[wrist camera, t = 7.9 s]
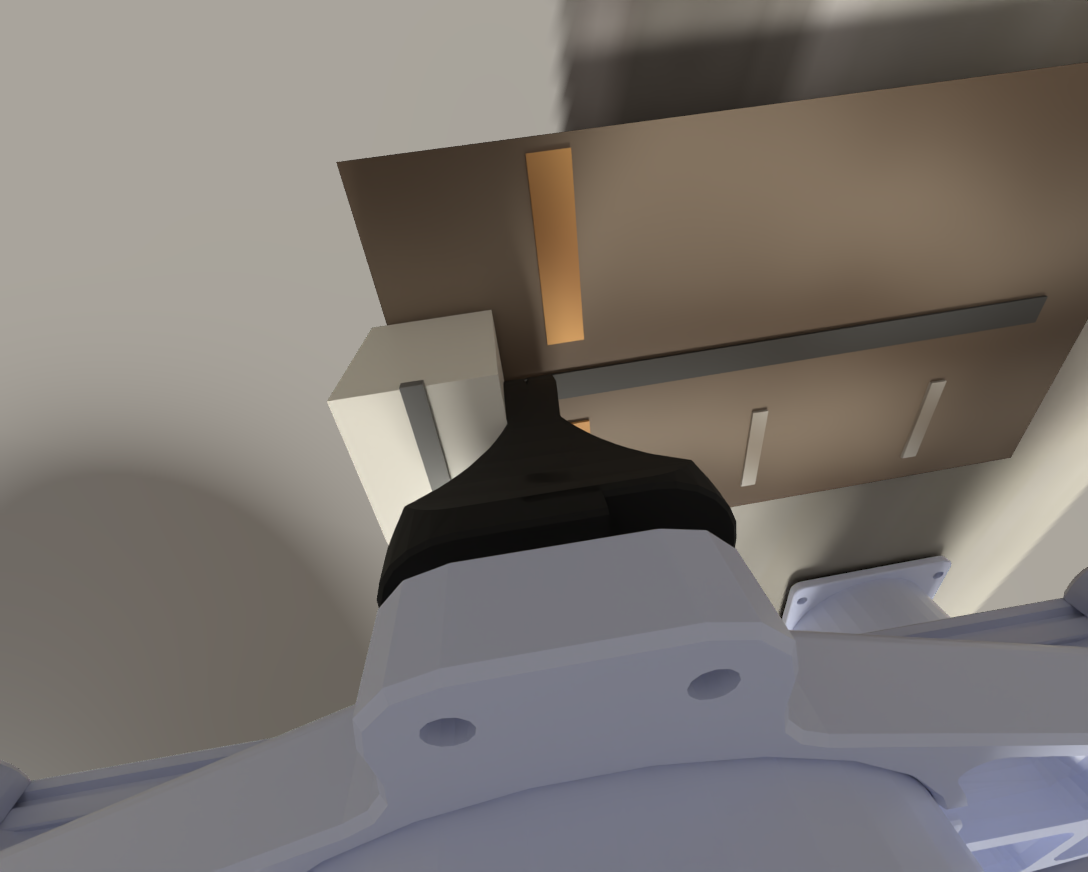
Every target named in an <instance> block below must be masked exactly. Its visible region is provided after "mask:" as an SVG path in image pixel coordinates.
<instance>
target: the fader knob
mask: <svg viewBox="0 0 1088 872" xmlns="http://www.w3.org/2000/svg"><path fill="white" fill-rule="evenodd" d="M503 382H504V377H503V372H502V366H501V360H500V355H499V349H498V343H497V338H496V332H495V327H494V321H493V315H492V310H486V311H479V312H473V313H466V314H460V315H453V316H446V317H440V318H433V319H426V320H420V321H413V322H407V323H400V324H393V325H387V326H380V327H374V328H372V329H371V330H370V332H369V334H368V335H367V337H366V339H365V340H364V342H363V344H362V345H361V347H360V348H359V350H358V352H357V353H356V355H355V357H354V358H353V360H352V361H351V363H350V365H349V366H348V368H347V370H346V371H345V373H344V375H343V376H342V378H341V379H340V381H339V383H338V384H337V386H336V388H335V389H334V391H333V392H332V394H331V396H330V397H329V399H328V401H327V403H328V405H329V407H330V409H331V412H332V414H333V417H334V419H335V421H336V424H337V426H338V428H339V431H340V433H341V435H342V438H343V440H344V442H345V445H346V447H347V449H348V452H349V454H350V456H351V459H352V461H353V464H354V466H355V468H356V471H357V473H358V475H359V478H360V480H361V482H362V484H363V487H364V489H365V492H366V494H367V496H368V498H369V501H370V503H371V506H372V508H373V511H374V513H375V515H376V517H377V520H378V522H379V525H380V527H381V529H382V531H383V534H384V536H385V538H386V541H387V543H388V546H389V543H390V540H391V538H392V535H393V532H394V530H395V527H396V525H397V523H398V521H399V518H400V516H401V513H402V511H403V508H404V507H405V506H406V505H408V504H410V503H412V502H414V501H416V500H417V499H419V498H421V497H423V496H425V495H427V494H428V493H430V492H432V491H434V490H436V489H438V488H439V487H441V486H442V485H444V484H446V483H447V482H449V481H450V480H452V479H453V478H454V477H456V476H457V475H459V474H460V473H461V472H463V471H464V470H465V469H467V468H468V467H469V466H470V465H472V464H473V463H474V462H475V461H476V460H477V459H478V458H479V457H480V456H481V455H482V454H484V453H485V452H486V451H487V450H488V449H489V448H490V447H491V446H492V444H493V443H494V442H495V441H496V439H497V438H498V437H499V435H500V434H501V433H502V431H503V430H504V428H505V427H506V425H507V420H506V411H505V400H504V388H503Z"/></svg>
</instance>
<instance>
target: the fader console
mask: <svg viewBox="0 0 1088 872" xmlns="http://www.w3.org/2000/svg"><path fill="white" fill-rule="evenodd" d="M337 166H338V169H339V172H340V175H341V179H342V182H343V185H344V188H345V191H346V195H347V198H348V201H349V204H350V207H351V211H352V214H353V217H354V220H355V224H356V227H357V230H358V233H359V236H360V240H361V243H362V246H363V249H364V252H365V256H366V259H367V262H368V265H369V269H370V272H371V275H372V278H373V281H374V285H375V288H376V291H377V294H378V297H379V300H380V304H381V307H382V310H383V314H384V317H385V320H386V323H387V325H393V324H400V323H407V322H413V321H420V320H426V319H433V318H440V317H446V316H453V315H460V314H466V313H473V312H479V311H486V310H492V315H493V321H494V327H495V332H496V338H497V343H498V349H499V355H500V360H501V366H502V372H503V377H504V382H506V381H513V380H519V379H523V380H524V381H525V382H526V381H527V379H528V378H533V377H539V376H546V375H553V377H554V378H555V380H556V383H557V391H558V400H559V408H560V415H561V417H563V418H564V419H565V420H567V421H568V422H570V423H571V424H573V425H575V426H577V427H579V428H580V429H582V430H584V431H586V432H588V433H590V434H592V435H594V436H597V437H599V438H602V439H604V440H607V441H609V442H612V443H614V444H617V445H621V446H624V447H627V448H631V449H635V450H639V451H642V452H646V453H651V454H656V455H663V456H669V457H676V458H682V459H689V460H692V461H693V462H694V463H695V464H696V465H697V466H698V467H699V469H700V470H701V471H702V472H703V473H704V474H705V475H706V476H707V477H708V478H709V479H710V481H711V482H712V483H713V484H714V486H715V487H716V488H717V489H718V491H719V492H720V493H721V495H722V496H723V498H724V499H725V501H726V502H727V503H728V505H729V506H730V507H734V506H740V505H746V504H751V503H757V502H763V501H768V500H774V499H779V498H785V497H791V496H796V495H802V494H808V493H813V492H819V491H825V490H830V489H836V488H842V487H847V486H853V485H858V484H864V483H870V482H875V481H881V480H887V479H892V478H898V477H904V476H909V475H915V474H920V473H926V472H932V471H937V470H943V469H949V468H954V467H960V466H966V465H971V464H977V463H983V462H988V461H994V460H999V459H1005V458H1011V456H1012V454H1013V453H1014V451H1015V449H1016V447H1017V445H1018V444H1019V442H1020V440H1021V438H1022V436H1023V435H1024V433H1025V431H1026V429H1027V427H1028V426H1029V424H1030V422H1031V420H1032V418H1033V417H1034V415H1035V413H1036V411H1037V409H1038V408H1039V406H1040V404H1041V402H1042V400H1043V399H1044V397H1045V395H1046V393H1047V391H1048V390H1049V388H1050V386H1051V384H1052V382H1053V381H1054V379H1055V377H1056V375H1057V373H1058V372H1059V370H1060V368H1061V366H1062V364H1063V363H1064V361H1065V359H1066V357H1067V355H1068V354H1069V352H1070V350H1071V348H1072V346H1073V345H1074V343H1075V341H1076V339H1077V337H1078V336H1079V334H1080V332H1081V330H1082V328H1083V327H1084V325H1085V323H1086V321H1087V319H1088V62H1086V63H1078V64H1071V65H1063V66H1056V67H1048V68H1041V69H1033V70H1026V71H1018V72H1011V73H1003V74H996V75H988V76H981V77H973V78H966V79H958V80H951V81H943V82H936V83H928V84H921V85H913V86H906V87H898V88H891V89H883V90H875V91H868V92H860V93H853V94H845V95H838V96H830V97H823V98H815V99H808V100H800V101H793V102H785V103H778V104H770V105H763V106H755V107H748V108H740V109H733V110H725V111H718V112H710V113H703V114H695V115H687V116H680V117H672V118H665V119H657V120H650V121H642V122H635V123H627V124H620V125H612V126H605V127H597V128H590V129H582V130H575V131H567V132H560V133H552V134H545V135H537V136H530V137H522V138H515V139H507V140H500V141H492V142H485V143H478V144H469V145H462V146H455V147H448V148H439V149H432V150H425V151H417V152H409V153H402V154H395V155H387V156H379V157H372V158H364V159H357V160H349V161H342V162H337Z"/></svg>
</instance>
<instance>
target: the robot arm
mask: <svg viewBox="0 0 1088 872" xmlns="http://www.w3.org/2000/svg"><path fill="white" fill-rule="evenodd" d="M503 388H504V400H505V411H506V420H507V425H506V427H505V428H504V430H503V431H502V433H501V434H500V435H499V437H498V438H497V439H496V441H495V442H494V443H493V444H492V446H491V447H490V448H489V449H488V450H487V451H486V452H485V453H484V454H482V455H481V456H480V457H479V458H478V459H477V460H476V461H475V462H474V463H473V464H472V465H470V466H469V467H468V468H467V469H465V470H464V471H463V472H461V473H460V474H459V475H457V476H456V477H454V478H453V479H452V480H450V481H449V482H447V483H446V484H444V485H442V486H441V487H439V488H438V489H436V490H434V491H432V492H430V493H428V494H427V495H425V496H423V497H421V498H419V499H417V500H416V501H414V502H412V503H410V504H408V505H406V506H405V507H404V508H403V511H402V513H401V516H400V518H399V521H398V523H397V525H396V527H395V530H394V532H393V535H392V538H391V540H390V543H389V546H388V550H387V553H386V557H385V561H384V565H383V570H382V574H381V578H380V582H379V589H378V595H377V603H378V606H379V609H378V612H377V616H376V620H375V624H374V629H373V633H372V637H371V641H370V646H369V650H368V654H367V658H366V663H365V667H364V671H363V675H362V680H361V684H360V688H359V692H358V696H357V701H356V704H354V705H351V706H349V707H347V708H344V709H342V710H339V711H337V712H334V713H332V714H330V715H327V716H325V717H323V718H320V719H317V720H315V721H313V722H310V723H308V724H305V725H303V726H301V727H298V728H296V729H293V730H291V731H288V732H286V733H284V734H281V735H279V736H277V737H274V738H269V739H263V740H258V741H252V742H247V743H241V744H235V745H230V746H224V747H219V748H213V749H207V750H201V751H196V752H190V753H184V754H178V755H173V756H167V757H161V758H156V759H151V760H145V761H139V762H133V763H128V764H122V765H116V766H111V767H105V768H100V769H94V770H88V771H83V772H77V773H71V774H66V775H60V776H55V777H49V778H43V779H37V780H32V781H30V779H29V777H28V775H26V774H25V773H24V772H23V771H21V770H20V769H19V768H17V767H16V766H14V765H12V764H10V763H8V762H5V761H3V760H0V872H1088V567H1087V568H1085V569H1083V570H1082V571H1081V572H1080V573H1079V574H1078V575H1077V576H1076V577H1075V578H1074V579H1073V580H1072V581H1071V583H1070V584H1069V586H1068V587H1067V589H1066V590H1065V592H1064V598H1060V599H1054V600H1048V601H1043V602H1037V603H1031V604H1026V605H1020V606H1015V607H1009V608H1003V609H997V610H992V611H987V612H981V613H975V614H969V615H964V616H958V617H952V618H951V617H949V616H948V615H947V614H946V613H945V612H944V611H943V610H942V609H941V608H940V607H939V606H938V605H937V604H936V603H935V602H934V601H933V600H932V599H933V598H934V596H935V594H936V592H937V590H938V589H939V587H940V585H941V583H942V581H943V580H944V578H945V576H946V574H947V572H948V571H949V569H950V567H951V561H950V560H948V559H947V558H946V557H945V556H935V557H929V558H924V559H919V560H913V561H908V562H902V563H897V564H892V565H886V566H881V567H876V568H870V569H865V570H860V571H854V572H849V573H844V574H838V575H833V576H828V577H822V578H817V579H812V580H806V581H801V582H798V583H796V584H794V585H793V586H792V587H791V589H790V592H789V595H788V599H787V602H786V606H785V610H784V613H783V617H782V619H781V617H780V616H779V614H778V613H777V611H776V610H775V608H774V607H773V605H772V603H771V602H770V600H769V599H768V597H767V596H766V594H765V593H764V591H763V590H762V588H761V586H760V585H759V583H758V582H757V580H756V579H755V577H754V576H753V574H752V573H751V571H750V570H749V568H748V566H747V565H746V563H745V562H744V560H743V559H742V557H741V556H740V554H739V553H738V551H737V549H735V543H736V520H735V518H734V515H733V513H732V511H731V508H730V506H729V505H728V503H727V502H726V501H725V499H724V498H723V496H722V495H721V493H720V492H719V491H718V489H717V488H716V487H715V486H714V484H713V483H712V482H711V481H710V479H709V478H708V477H707V476H706V475H705V474H704V473H703V472H702V471H701V470H700V469H699V467H698V466H697V465H696V464H695V463H694V462H693V461H692V460H689V459H682V458H676V457H669V456H663V455H656V454H651V453H646V452H642V451H639V450H635V449H631V448H627V447H624V446H621V445H617V444H614V443H612V442H609V441H607V440H604V439H602V438H599V437H597V436H594V435H592V434H590V433H588V432H586V431H584V430H582V429H580V428H579V427H577V426H575V425H573V424H571V423H570V422H568V421H567V420H565V419H564V418H563V417H561V415H560V408H559V400H558V391H557V383H556V380H555V378H554V377H553V375H546V376H539V377H533V378H528V379H527V381H526V382H525V381H524V380H523V379H519V380H513V381H506V382H503Z"/></svg>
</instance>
